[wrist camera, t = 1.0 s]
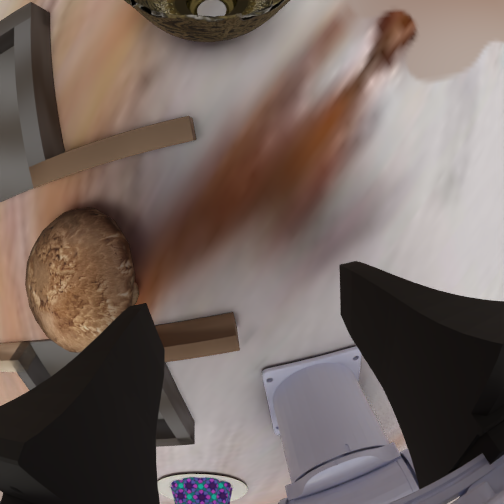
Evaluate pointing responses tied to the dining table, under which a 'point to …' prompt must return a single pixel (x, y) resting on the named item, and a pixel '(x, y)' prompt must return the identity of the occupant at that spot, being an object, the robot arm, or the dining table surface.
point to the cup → (207, 17)
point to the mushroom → (80, 277)
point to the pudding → (201, 489)
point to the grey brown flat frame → (66, 163)
